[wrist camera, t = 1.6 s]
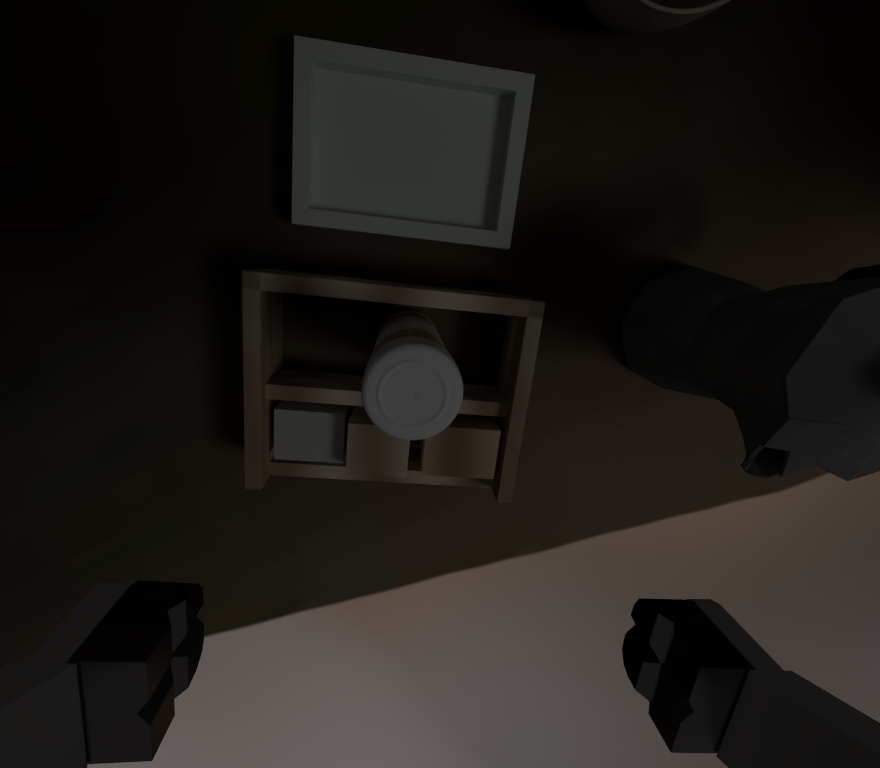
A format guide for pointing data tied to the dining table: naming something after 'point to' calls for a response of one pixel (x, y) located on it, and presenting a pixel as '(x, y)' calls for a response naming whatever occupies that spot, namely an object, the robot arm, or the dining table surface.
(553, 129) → the dining table surface
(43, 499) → the dining table surface
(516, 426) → the rack
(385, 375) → the sprinkles bottle
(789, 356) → the coffeepot
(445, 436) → the offcut oak
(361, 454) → the offcut pine
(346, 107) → the tray
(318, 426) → the offcut grey
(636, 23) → the flower pot
